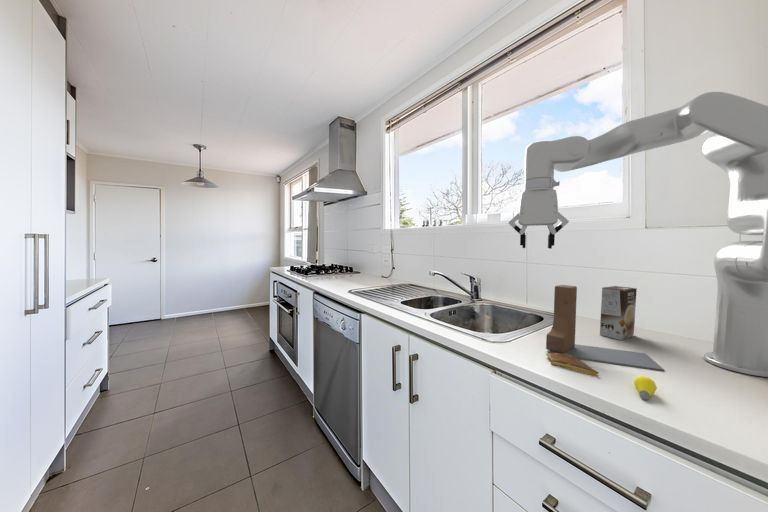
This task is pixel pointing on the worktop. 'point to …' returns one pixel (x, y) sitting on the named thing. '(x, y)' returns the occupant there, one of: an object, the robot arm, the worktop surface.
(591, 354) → the mat
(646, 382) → the light bulb
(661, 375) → the worktop surface
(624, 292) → the coffee box
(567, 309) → the wooden block
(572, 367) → the sandwich
